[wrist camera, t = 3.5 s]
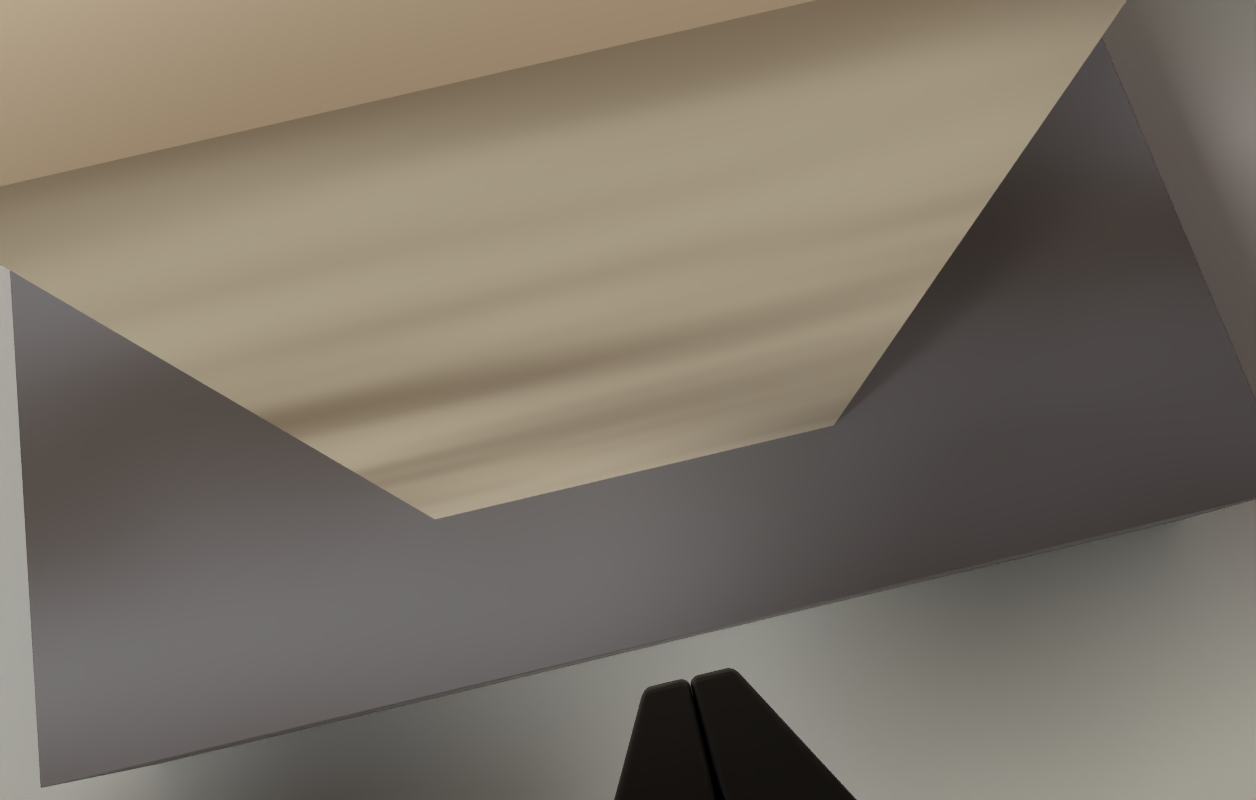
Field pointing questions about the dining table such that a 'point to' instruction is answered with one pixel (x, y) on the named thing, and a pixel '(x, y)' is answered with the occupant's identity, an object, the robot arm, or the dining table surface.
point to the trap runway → (619, 487)
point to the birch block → (516, 209)
